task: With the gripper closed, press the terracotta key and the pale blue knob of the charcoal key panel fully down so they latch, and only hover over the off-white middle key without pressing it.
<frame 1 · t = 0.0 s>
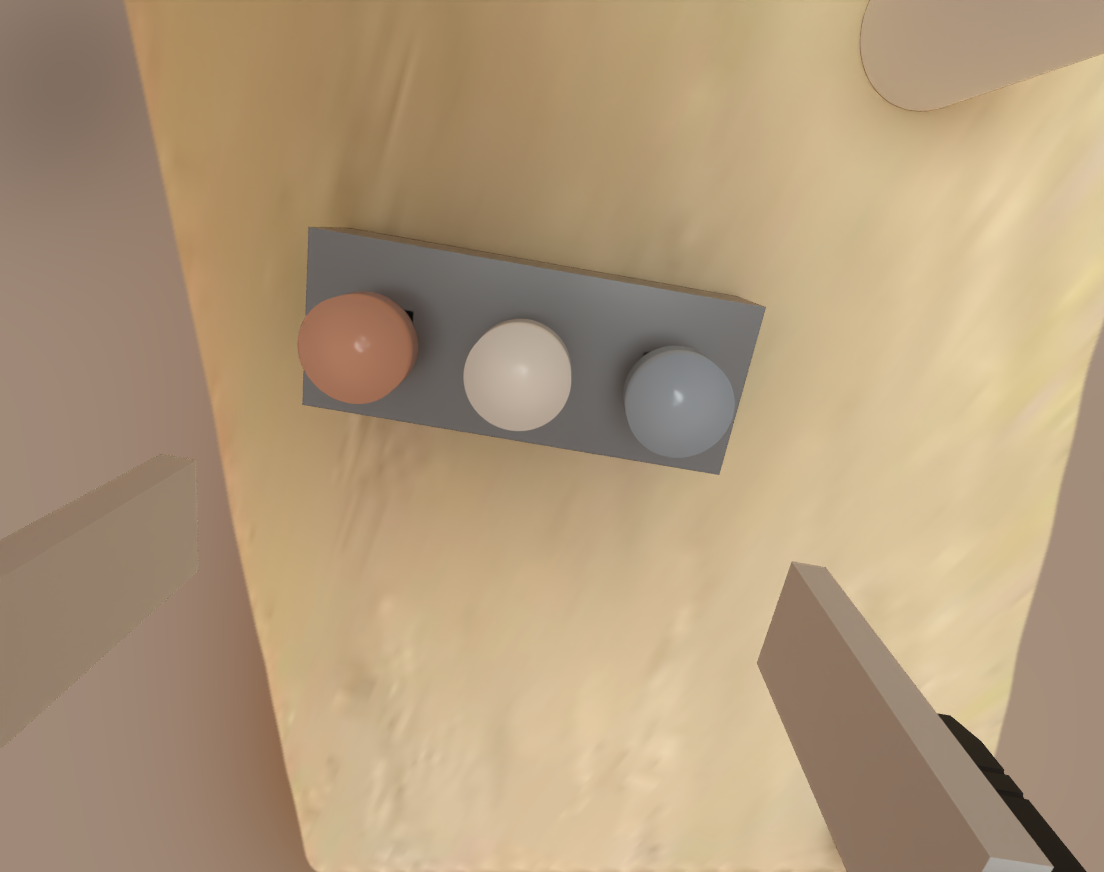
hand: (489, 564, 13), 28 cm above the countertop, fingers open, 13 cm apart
key panel: (531, 340, 40), on the countertop
pale blue knob: (668, 388, 33), point 8 cm above the countertop, slide at 0.0 cm
white key: (523, 363, 32), point 8 cm above the countertop, slide at 0.0 cm
cup: (933, 29, 34), on the countertop
terracotta key: (375, 338, 32), point 8 cm above the countertop, slide at 0.0 cm
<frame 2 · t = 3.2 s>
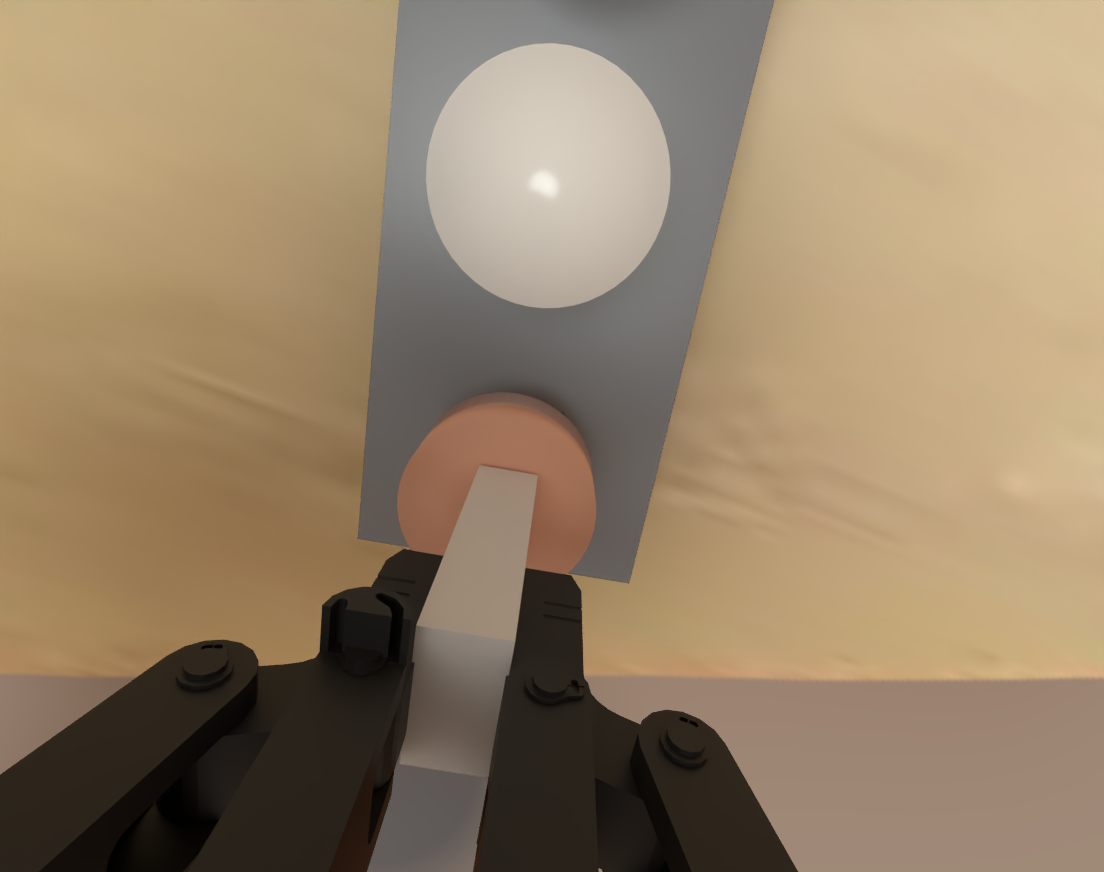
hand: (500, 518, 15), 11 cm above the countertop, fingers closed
key panel: (556, 206, 24), on the countertop
white key: (551, 194, 16), point 8 cm above the countertop, slide at 0.0 cm
terracotta key: (509, 461, 19), point 7 cm above the countertop, slide at 0.4 cm, touching gripper
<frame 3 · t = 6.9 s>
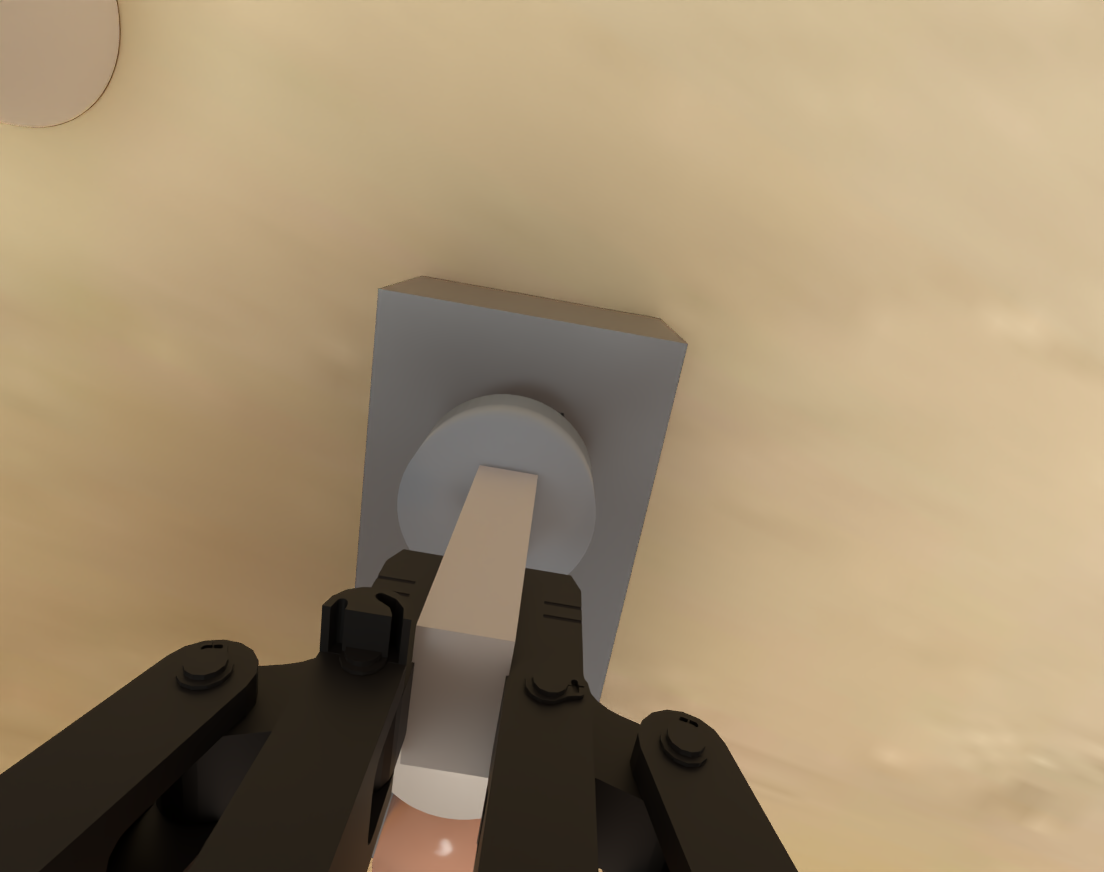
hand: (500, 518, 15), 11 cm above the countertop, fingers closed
key panel: (498, 559, 29), on the countertop
pale blue knob: (509, 462, 19), point 7 cm above the countertop, slide at 0.2 cm, touching gripper
white key: (475, 670, 22), point 8 cm above the countertop, slide at 0.0 cm
cup: (11, 4, 22), on the countertop
terracotta key: (458, 787, 26), point 6 cm above the countertop, slide at 2.1 cm
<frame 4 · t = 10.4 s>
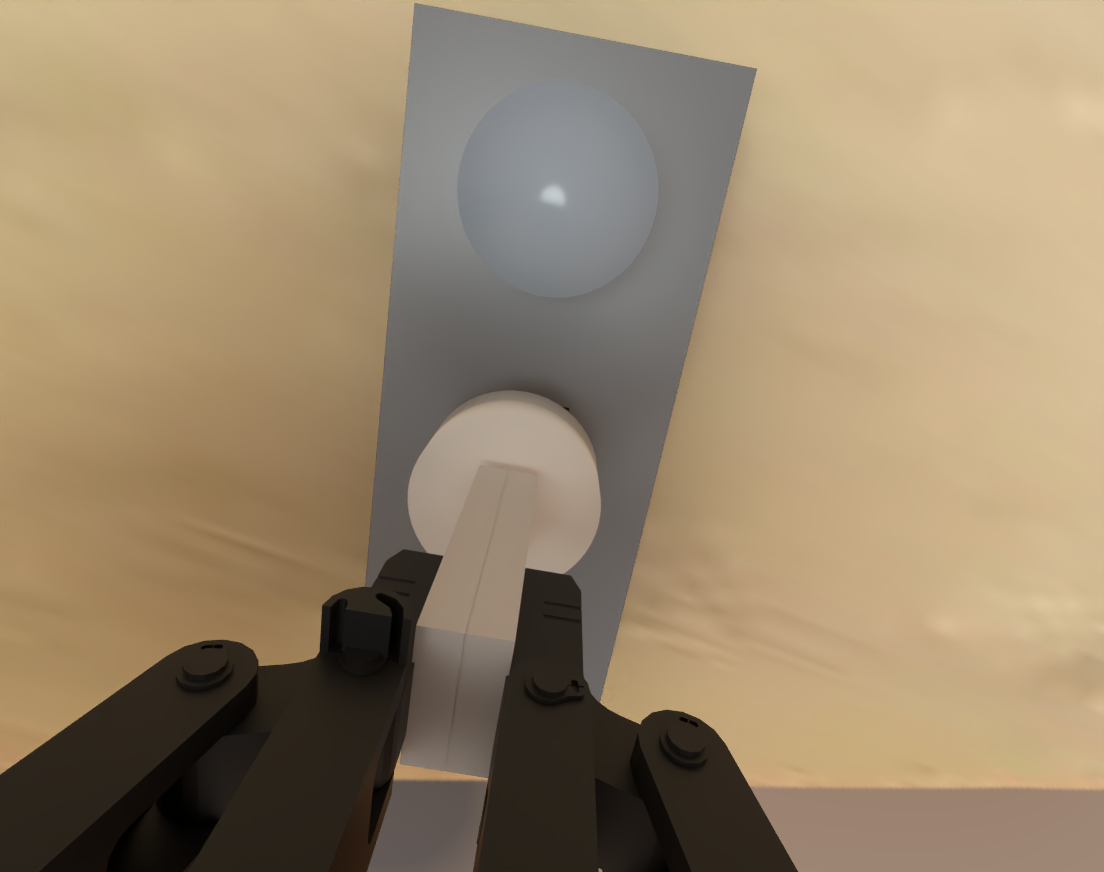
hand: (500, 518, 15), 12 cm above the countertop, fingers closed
key panel: (530, 397, 27), on the countertop
pale blue knob: (559, 202, 19), point 6 cm above the countertop, slide at 2.1 cm
white key: (515, 457, 20), point 8 cm above the countertop, slide at 0.0 cm
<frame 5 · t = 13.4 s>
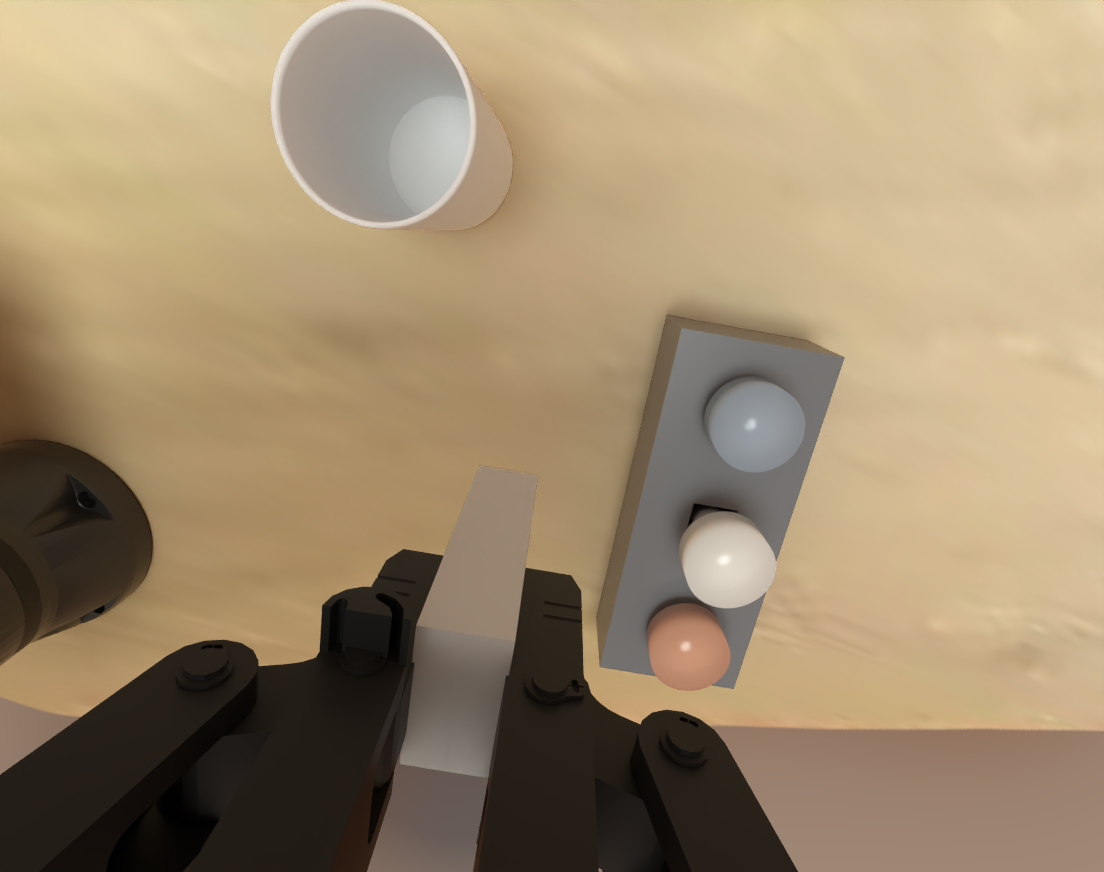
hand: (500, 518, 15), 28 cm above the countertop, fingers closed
key panel: (693, 490, 46), on the countertop
pale blue knob: (741, 412, 38), point 6 cm above the countertop, slide at 2.1 cm
white key: (716, 539, 38), point 8 cm above the countertop, slide at 0.0 cm
cup: (450, 164, 39), on the countertop
terracotta key: (680, 623, 43), point 6 cm above the countertop, slide at 2.1 cm
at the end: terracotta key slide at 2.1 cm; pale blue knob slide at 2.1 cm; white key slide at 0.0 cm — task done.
